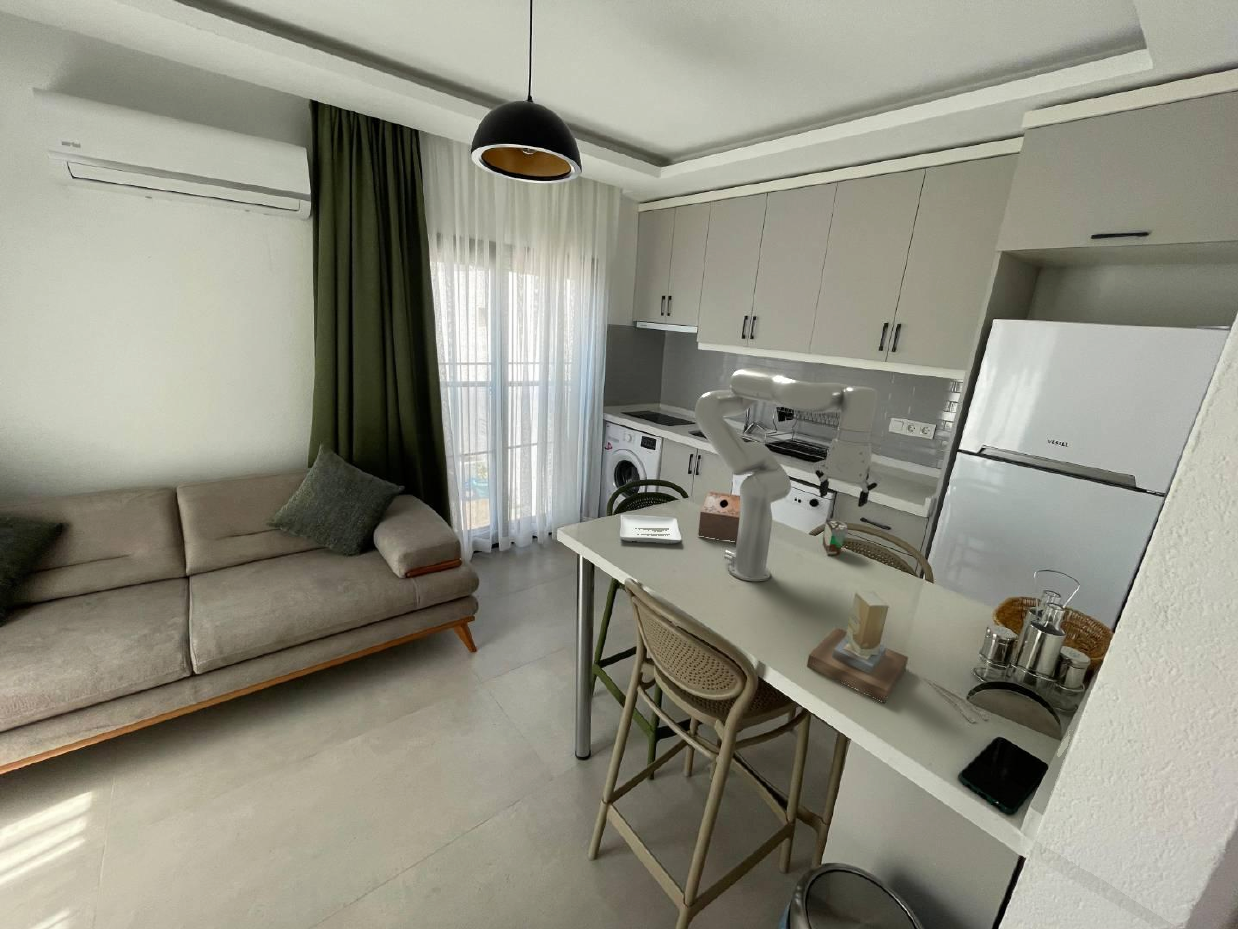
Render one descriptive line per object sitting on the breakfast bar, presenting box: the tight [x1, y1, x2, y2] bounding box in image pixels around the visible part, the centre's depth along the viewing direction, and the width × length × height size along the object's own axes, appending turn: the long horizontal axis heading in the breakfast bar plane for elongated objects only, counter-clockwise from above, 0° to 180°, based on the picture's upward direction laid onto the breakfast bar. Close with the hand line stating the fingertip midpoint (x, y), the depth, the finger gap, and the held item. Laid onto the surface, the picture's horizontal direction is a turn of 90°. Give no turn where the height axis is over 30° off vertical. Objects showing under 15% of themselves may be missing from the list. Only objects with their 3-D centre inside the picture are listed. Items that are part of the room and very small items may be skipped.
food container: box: [821, 517, 849, 557], centre depth 174 cm, size 12×6×10 cm, turn 168°
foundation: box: [806, 626, 909, 703], centre depth 112 cm, size 16×16×5 cm
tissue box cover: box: [697, 491, 740, 542], centre depth 191 cm, size 26×14×10 cm, turn 164°
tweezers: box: [917, 673, 988, 724], centre depth 107 cm, size 18×5×2 cm, turn 16°
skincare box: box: [846, 590, 890, 655], centre depth 110 cm, size 6×4×12 cm
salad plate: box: [619, 514, 682, 545], centre depth 182 cm, size 21×21×3 cm
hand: (841, 500), depth 132 cm, fingers open, 9 cm apart
